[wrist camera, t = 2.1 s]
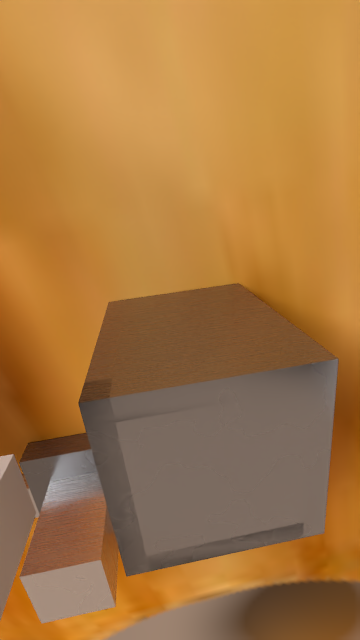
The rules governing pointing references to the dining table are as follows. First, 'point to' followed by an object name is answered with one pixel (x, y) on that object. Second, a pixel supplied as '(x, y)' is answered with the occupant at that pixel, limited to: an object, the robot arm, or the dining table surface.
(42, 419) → the dining table surface
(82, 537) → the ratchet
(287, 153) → the dining table surface
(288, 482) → the rimmed grey cube
